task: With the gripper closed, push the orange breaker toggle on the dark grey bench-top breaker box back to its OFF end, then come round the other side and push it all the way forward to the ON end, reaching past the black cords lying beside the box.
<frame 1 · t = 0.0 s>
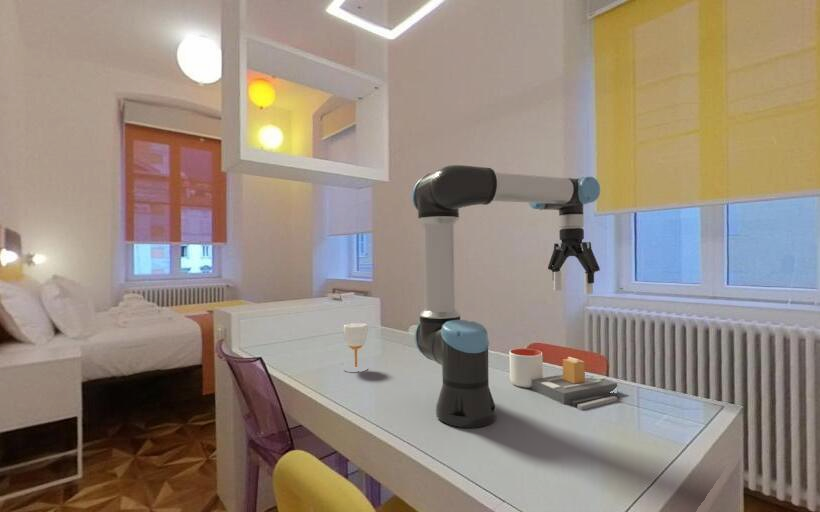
hand: (572, 292, 132), 28 cm above the table, fingers open, 13 cm apart
cord black: (595, 401, 109), on the table
breaker box: (573, 391, 117), on the table
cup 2: (356, 369, 144), on the table
cord grey: (597, 404, 107), on the table
cup: (526, 384, 125), on the table
breaker toggle: (573, 369, 117), point 7 cm above the table, slide at 0.0 cm
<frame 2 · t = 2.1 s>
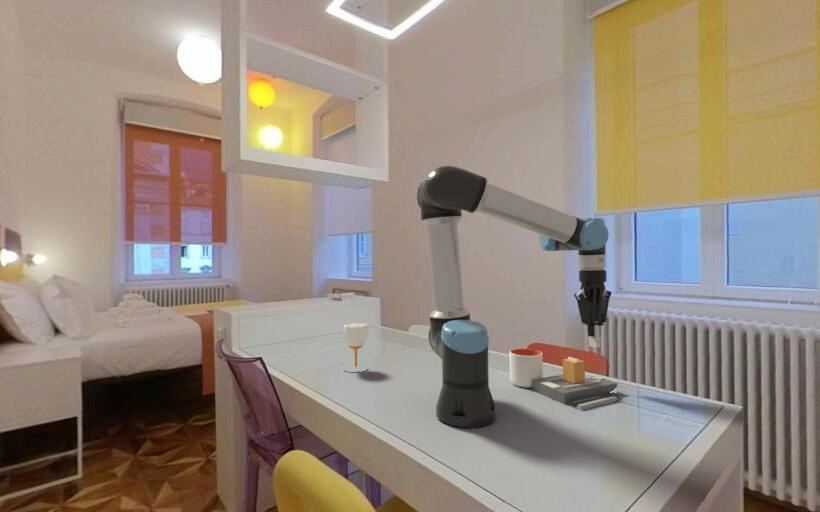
hand: (594, 346, 121), 12 cm above the table, fingers closed
nothing on the table moved.
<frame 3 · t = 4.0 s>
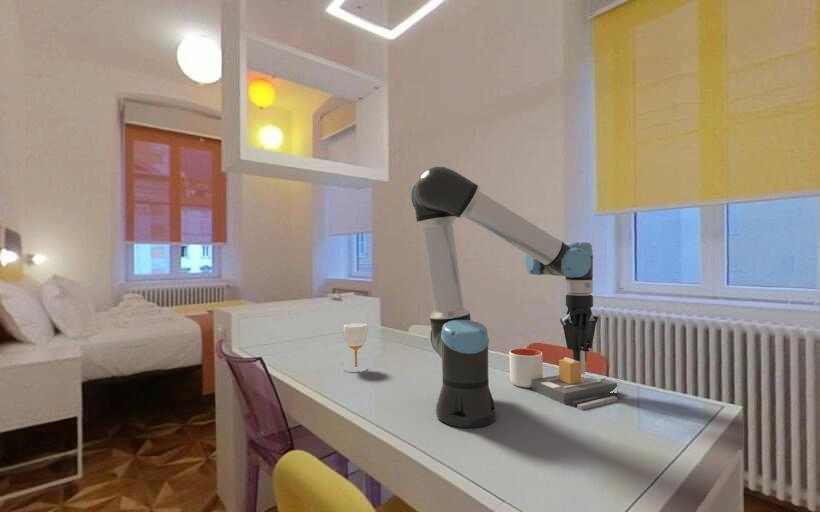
hand: (579, 372, 118), 5 cm above the table, fingers closed
breaker toggle: (569, 370, 117), point 7 cm above the table, slide at -1.5 cm, touching gripper
everything else where it was.
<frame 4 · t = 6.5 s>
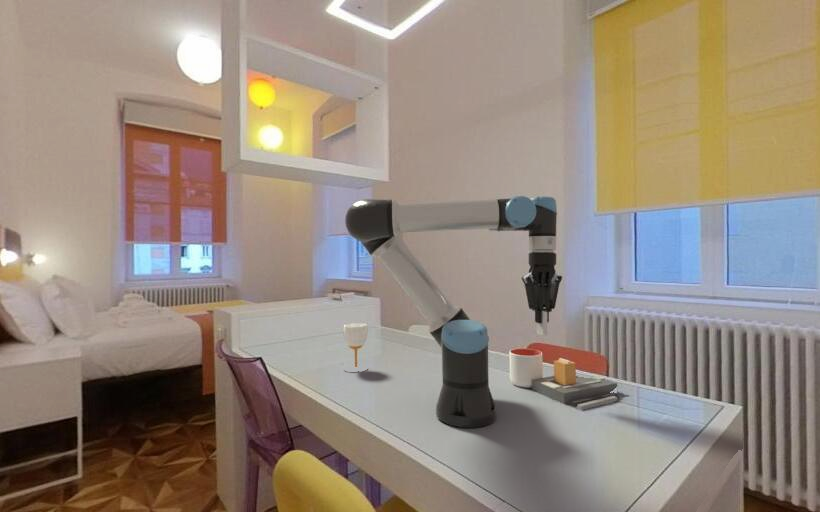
hand: (541, 334, 113), 18 cm above the table, fingers closed
breaker toggle: (564, 370, 116), point 7 cm above the table, slide at -3.4 cm
everything else where it was.
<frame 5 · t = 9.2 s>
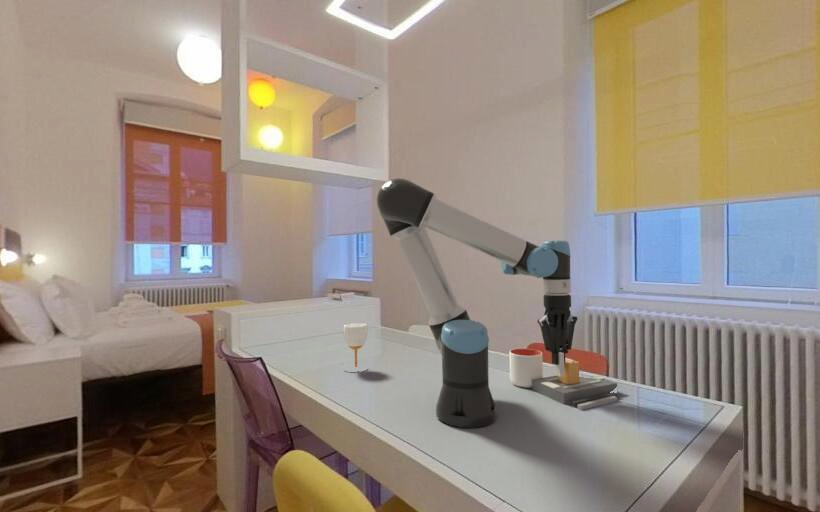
hand: (559, 374, 115), 6 cm above the table, fingers closed
breaker toggle: (568, 370, 117), point 7 cm above the table, slide at -2.0 cm, touching gripper
everything else where it was.
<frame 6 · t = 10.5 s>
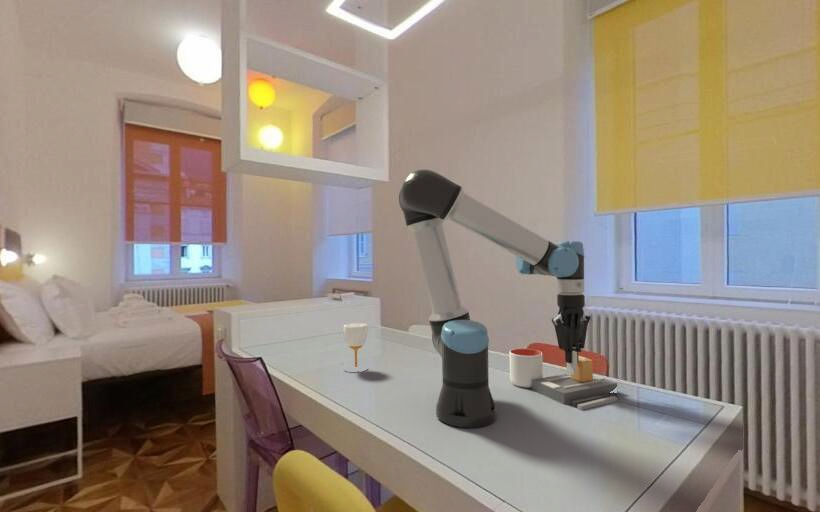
hand: (572, 373, 117), 5 cm above the table, fingers closed
breaker toggle: (581, 368, 119), point 7 cm above the table, slide at 3.2 cm, touching gripper
everything else where it was.
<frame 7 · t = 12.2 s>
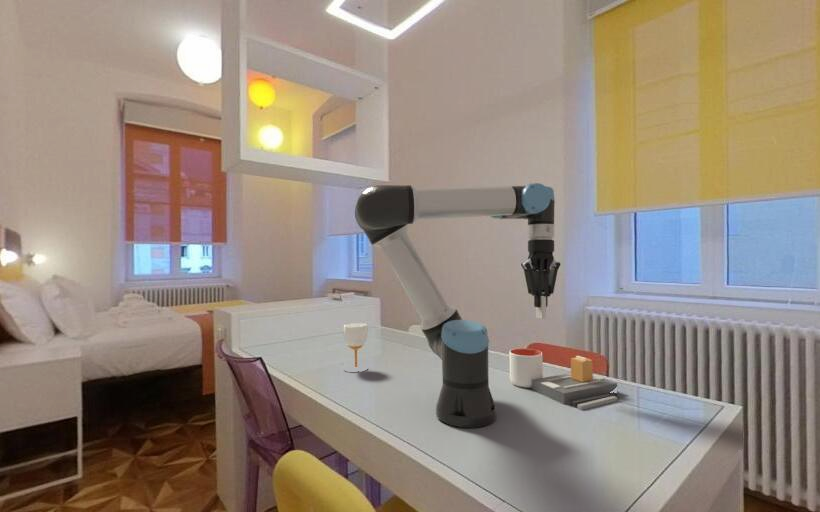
hand: (540, 318, 119), 22 cm above the table, fingers closed
breaker toggle: (581, 368, 119), point 7 cm above the table, slide at 3.2 cm
everything else where it was.
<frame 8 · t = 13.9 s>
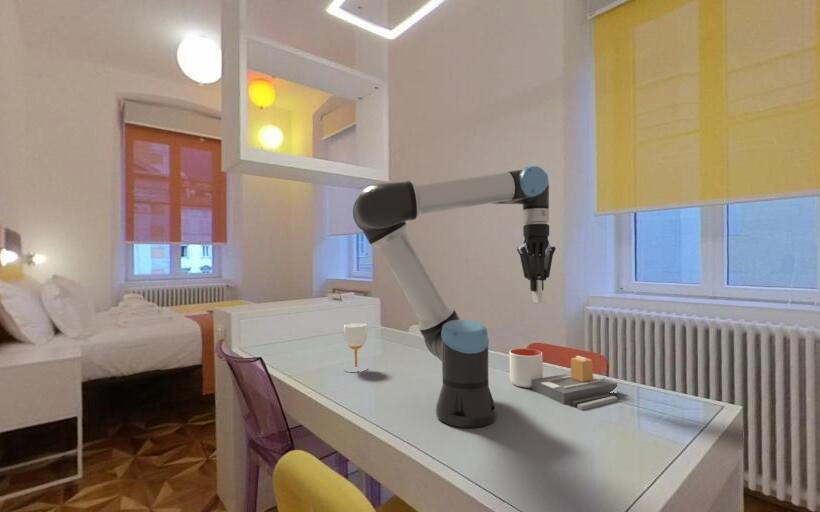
hand: (537, 301, 120), 26 cm above the table, fingers closed
nothing on the table moved.
at the end: breaker toggle slide at 3.2 cm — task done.
